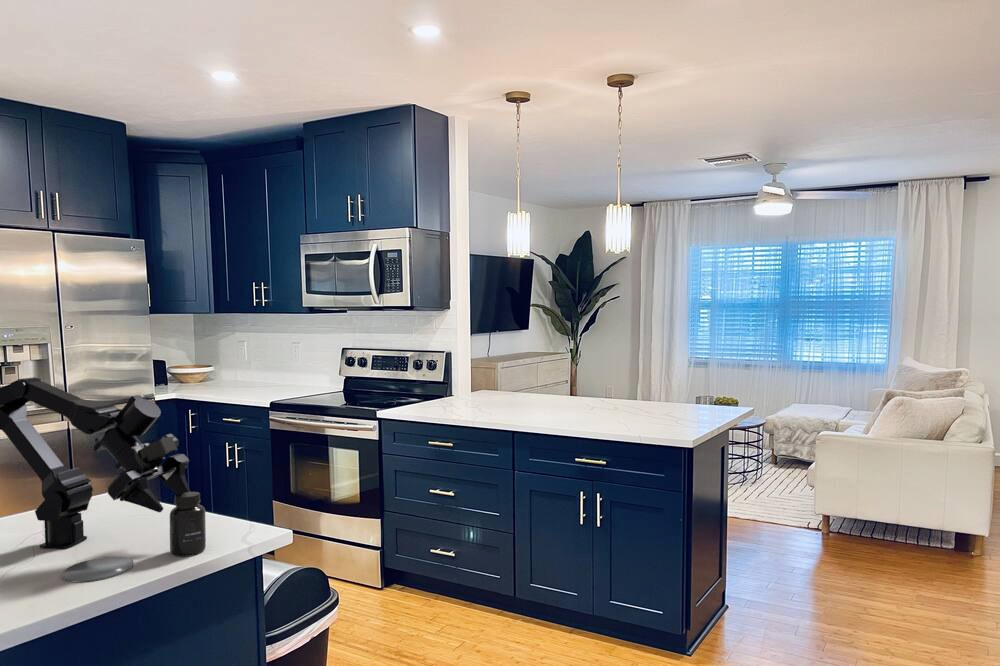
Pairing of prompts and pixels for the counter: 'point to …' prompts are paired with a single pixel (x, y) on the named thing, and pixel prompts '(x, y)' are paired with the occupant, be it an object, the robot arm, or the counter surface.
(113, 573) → the slate coaster
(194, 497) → the supplement bottle
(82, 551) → the counter surface
